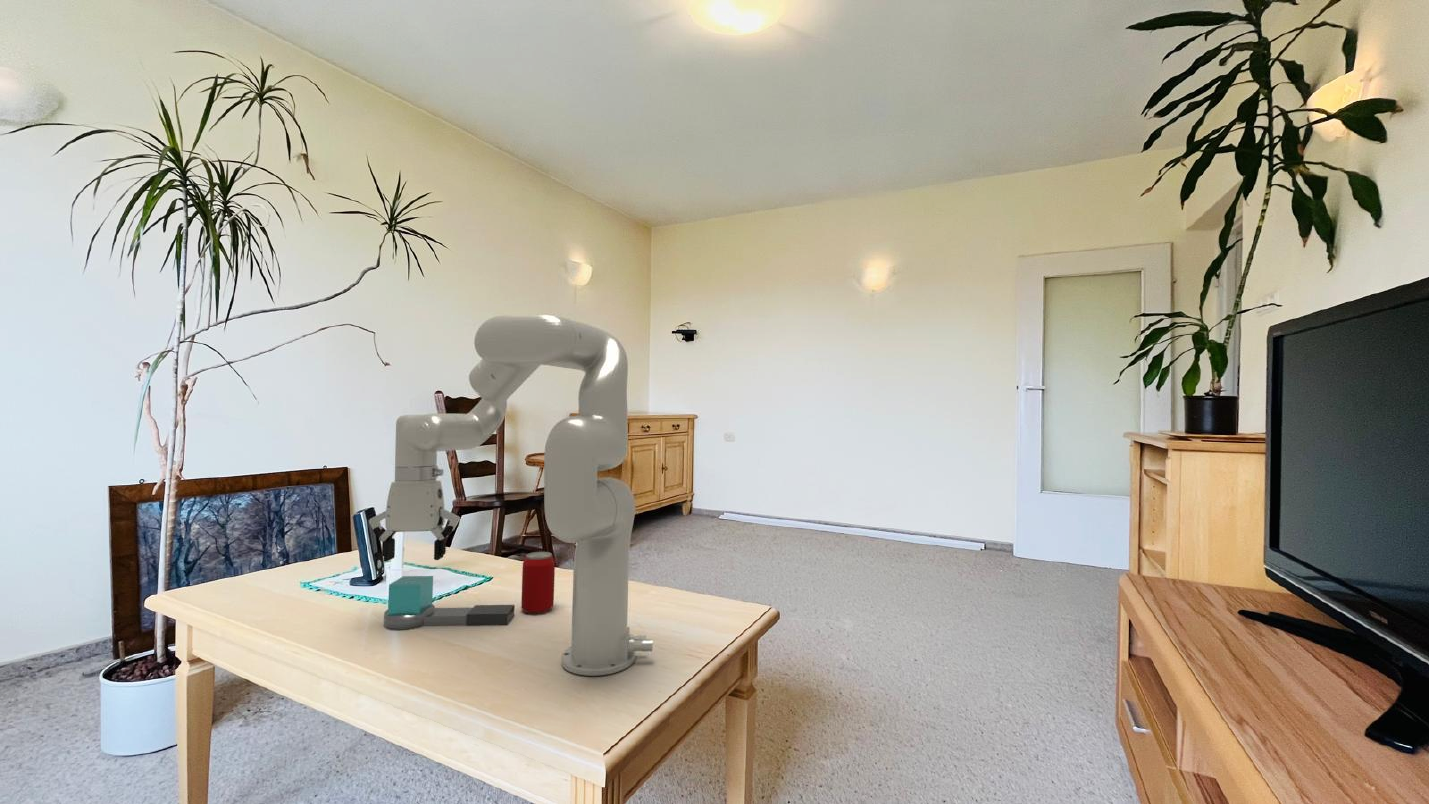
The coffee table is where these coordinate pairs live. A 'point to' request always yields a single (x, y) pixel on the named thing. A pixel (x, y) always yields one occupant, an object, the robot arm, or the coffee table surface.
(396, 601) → the teal cube
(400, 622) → the ratchet
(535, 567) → the beverage can
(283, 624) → the coffee table surface
